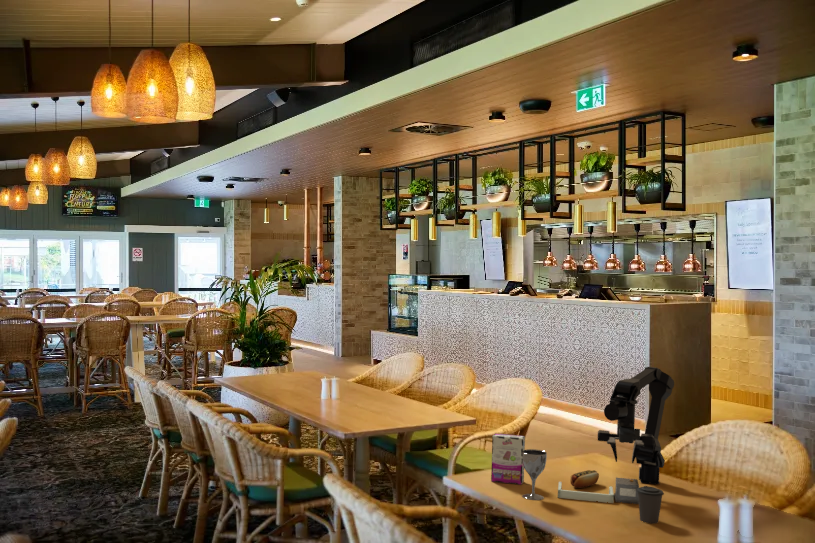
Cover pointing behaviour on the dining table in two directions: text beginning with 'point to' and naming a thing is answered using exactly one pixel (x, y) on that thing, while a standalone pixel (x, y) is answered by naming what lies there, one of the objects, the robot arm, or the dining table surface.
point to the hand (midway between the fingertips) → (624, 462)
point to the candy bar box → (507, 459)
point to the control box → (626, 490)
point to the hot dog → (584, 479)
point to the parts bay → (586, 495)
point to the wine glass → (534, 468)
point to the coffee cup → (649, 503)
